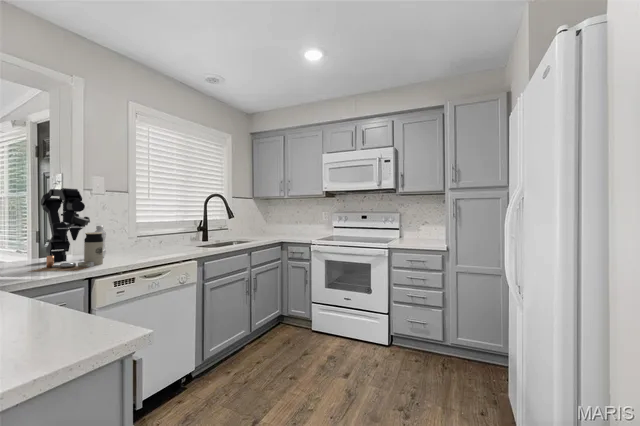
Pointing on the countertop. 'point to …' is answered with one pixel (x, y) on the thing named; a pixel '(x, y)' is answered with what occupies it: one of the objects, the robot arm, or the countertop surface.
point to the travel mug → (93, 248)
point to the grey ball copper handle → (63, 265)
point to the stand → (80, 267)
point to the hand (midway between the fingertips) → (69, 241)
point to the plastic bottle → (100, 229)
